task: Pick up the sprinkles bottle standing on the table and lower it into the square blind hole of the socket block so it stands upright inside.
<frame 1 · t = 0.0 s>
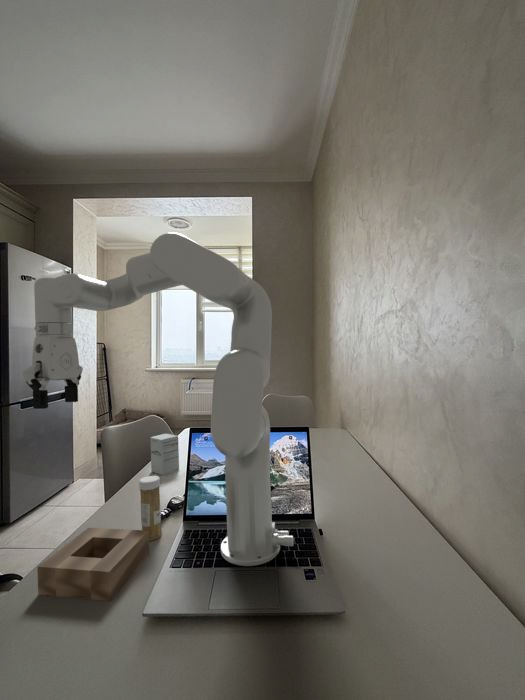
hand: (57, 404, 82), 31 cm above the table, tool pointing down, fingers open, 9 cm apart
supplement box: (165, 471, 128), on the table
sprinkles bottle: (151, 537, 82), on the table
socket block: (98, 572, 69), on the table
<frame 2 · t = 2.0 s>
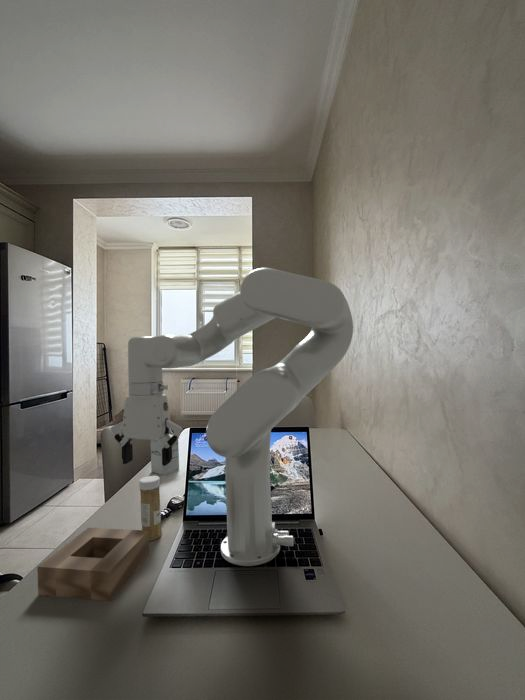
hand: (147, 463, 82), 17 cm above the table, tool pointing down, fingers open, 9 cm apart
nothing on the table moved.
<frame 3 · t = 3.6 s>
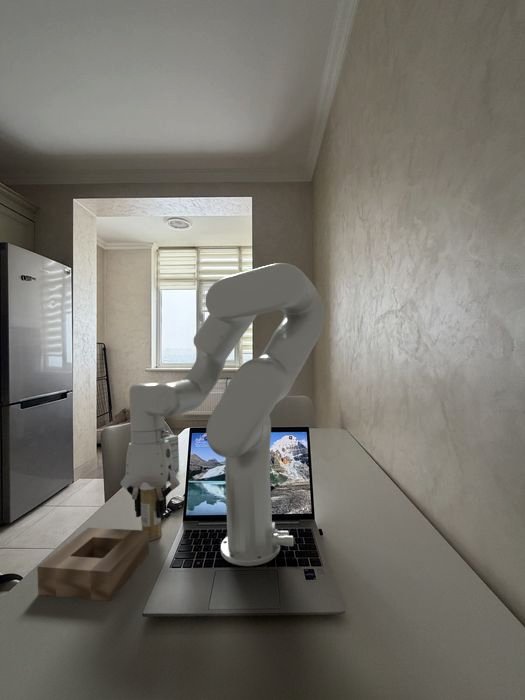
hand: (150, 514, 82), 5 cm above the table, tool pointing down, fingers closed on sprinkles bottle, 4 cm apart
sprinkles bottle: (151, 537, 82), on the table, touching gripper
everything else where it was.
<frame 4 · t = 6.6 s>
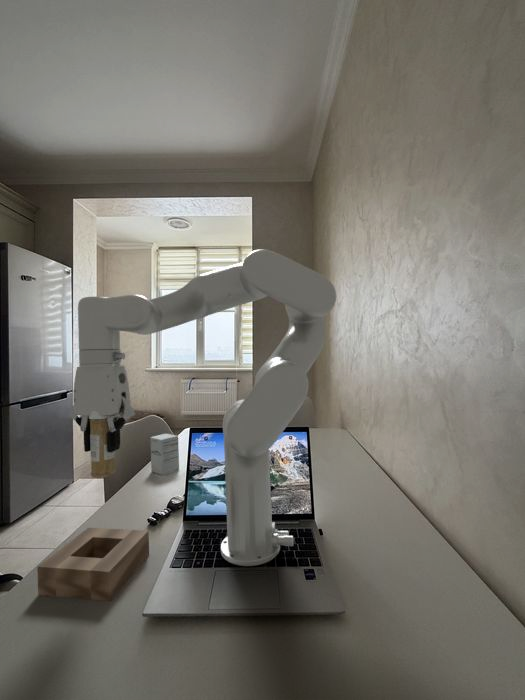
hand: (102, 449, 71), 23 cm above the table, tool pointing down, fingers closed on sprinkles bottle, 4 cm apart
sprinkles bottle: (103, 475, 71), point 18 cm above the table, touching gripper
everything else where it was.
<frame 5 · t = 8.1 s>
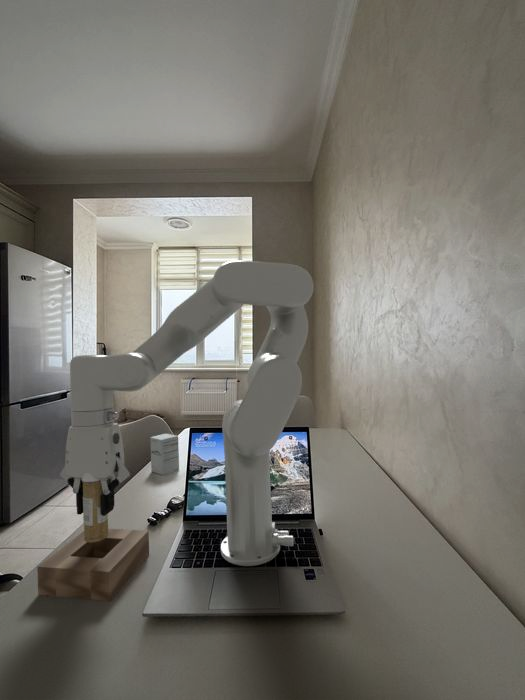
hand: (95, 510, 69), 12 cm above the table, tool pointing down, fingers closed on sprinkles bottle, 4 cm apart
sprinkles bottle: (96, 538, 69), point 7 cm above the table, touching gripper
everything else where it was.
when the fingers open (7 cm above the table, at t = 9.4 s): sprinkles bottle drops 1 cm, resting on socket block.
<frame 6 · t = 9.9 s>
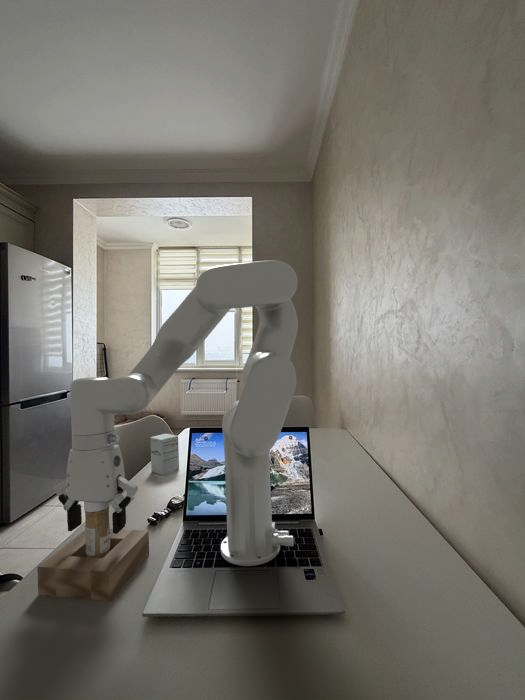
hand: (96, 528, 69), 9 cm above the table, tool pointing down, fingers open, 9 cm apart
sprinkles bottle: (98, 568, 69), point 1 cm above the table, touching socket block
everything else where it was.
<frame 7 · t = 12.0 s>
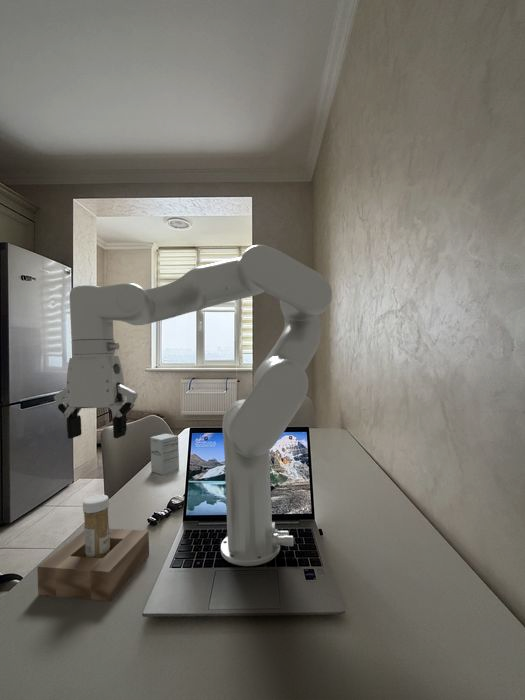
hand: (97, 436, 69), 26 cm above the table, tool pointing down, fingers open, 9 cm apart
nothing on the table moved.
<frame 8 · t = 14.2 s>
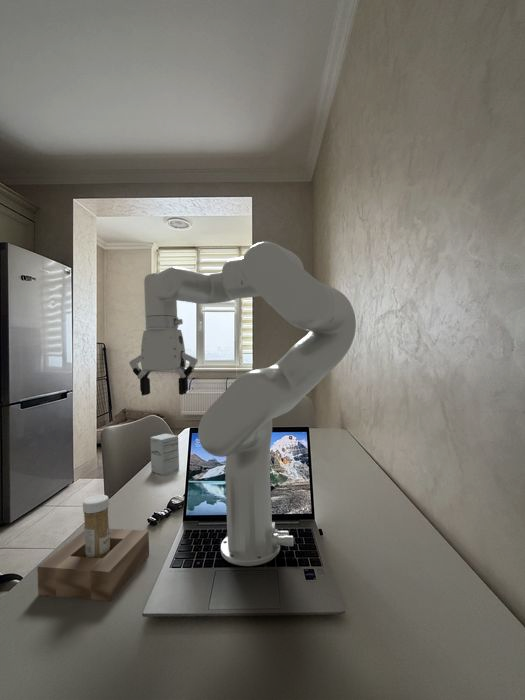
hand: (164, 394, 87), 32 cm above the table, tool pointing down, fingers open, 9 cm apart
nothing on the table moved.
at the end: sprinkles bottle 0.1 cm off-centre on the socket block, point 0.8 cm above the socket block's base; sprinkles bottle tilted 0°; the gripper is holding nothing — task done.
